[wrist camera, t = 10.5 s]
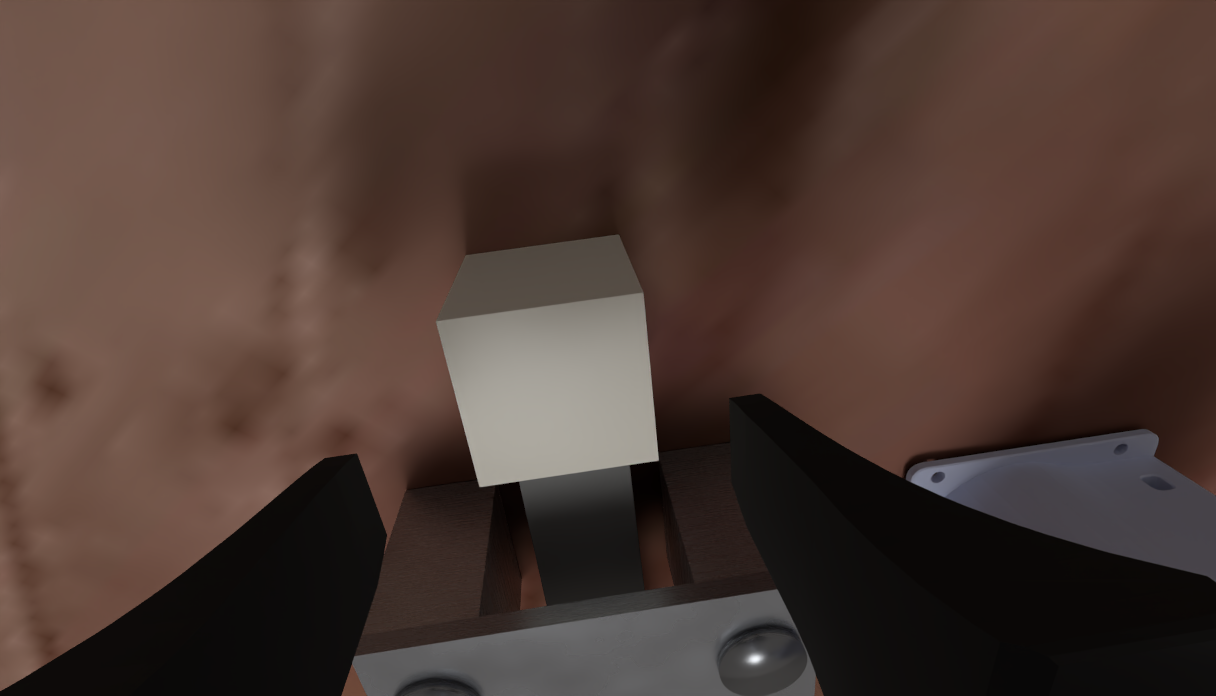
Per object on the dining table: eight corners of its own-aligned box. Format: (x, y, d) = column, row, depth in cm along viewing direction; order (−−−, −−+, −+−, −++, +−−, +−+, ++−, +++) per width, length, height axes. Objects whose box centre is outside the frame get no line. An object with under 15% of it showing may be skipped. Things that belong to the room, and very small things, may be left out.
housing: (745, 439, 21) (826, 591, 15) (746, 545, 23) (817, 714, 17) (405, 490, 20) (345, 668, 14) (440, 592, 22) (400, 784, 16)
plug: (618, 234, 17) (643, 292, 13) (660, 629, 25) (685, 755, 20) (465, 254, 17) (436, 321, 13) (554, 646, 24) (555, 776, 20)
